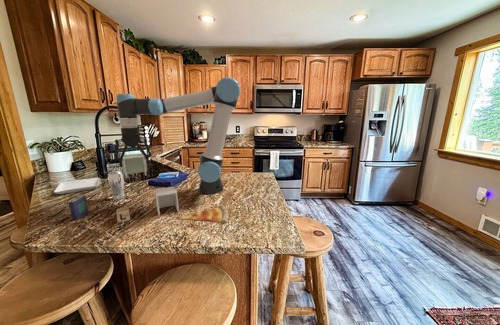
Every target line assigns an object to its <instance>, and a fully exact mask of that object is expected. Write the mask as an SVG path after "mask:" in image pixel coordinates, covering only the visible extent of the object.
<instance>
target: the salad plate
mask: <svg viewBox="0 0 500 325" xmlns="http://www.w3.org/2000/svg"><path fill="white" fill-rule="evenodd" d="M99 183H100V177H93V178H92V177H91V178H84V179H83V178H82V179H75V180H69V181H63V182H60V183H58V185H57V187H56V188H55V190H53V193H54V194H56V195H65V194H66V193H67V194H72V193H77V192H78V193H79V192H85V191H91V190H94V189H97V188H98V187H99V185H100V184H99Z"/></svg>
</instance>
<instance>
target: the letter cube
mask: <svg viewBox="0 0 500 325" xmlns="http://www.w3.org/2000/svg"><path fill="white" fill-rule="evenodd" d="M116 220H117V223H123V222H127V221H130V220H131V213H130V207H127V206H126V207H121V208H117V209H116Z"/></svg>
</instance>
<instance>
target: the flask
mask: <svg viewBox="0 0 500 325" xmlns="http://www.w3.org/2000/svg"><path fill="white" fill-rule="evenodd" d="M68 206H69V209H70V214H71V218H72V221H73V222H75V221H78V220H80V219H82V218H83V217H85V216H86V215H87V214H88V213H89V212H90V211H89V207H88V202H87V197H86V194H81V193H80V194H75V197H74V198H73V199H70V200H69V201H68Z"/></svg>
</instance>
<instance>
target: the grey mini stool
mask: <svg viewBox="0 0 500 325" xmlns="http://www.w3.org/2000/svg"><path fill="white" fill-rule="evenodd" d="M154 195H155V204H156V209H157V210H156V211H157V214H158V216H160V217H161V212H160V209H163V208H168V207H173V206H174V208H175V209H176V212H180V208H179V199H178V196H179V195H178V191H177V189H176V187H175V186H168V187H162V188H157V189H156V188H155V189H154Z"/></svg>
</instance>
